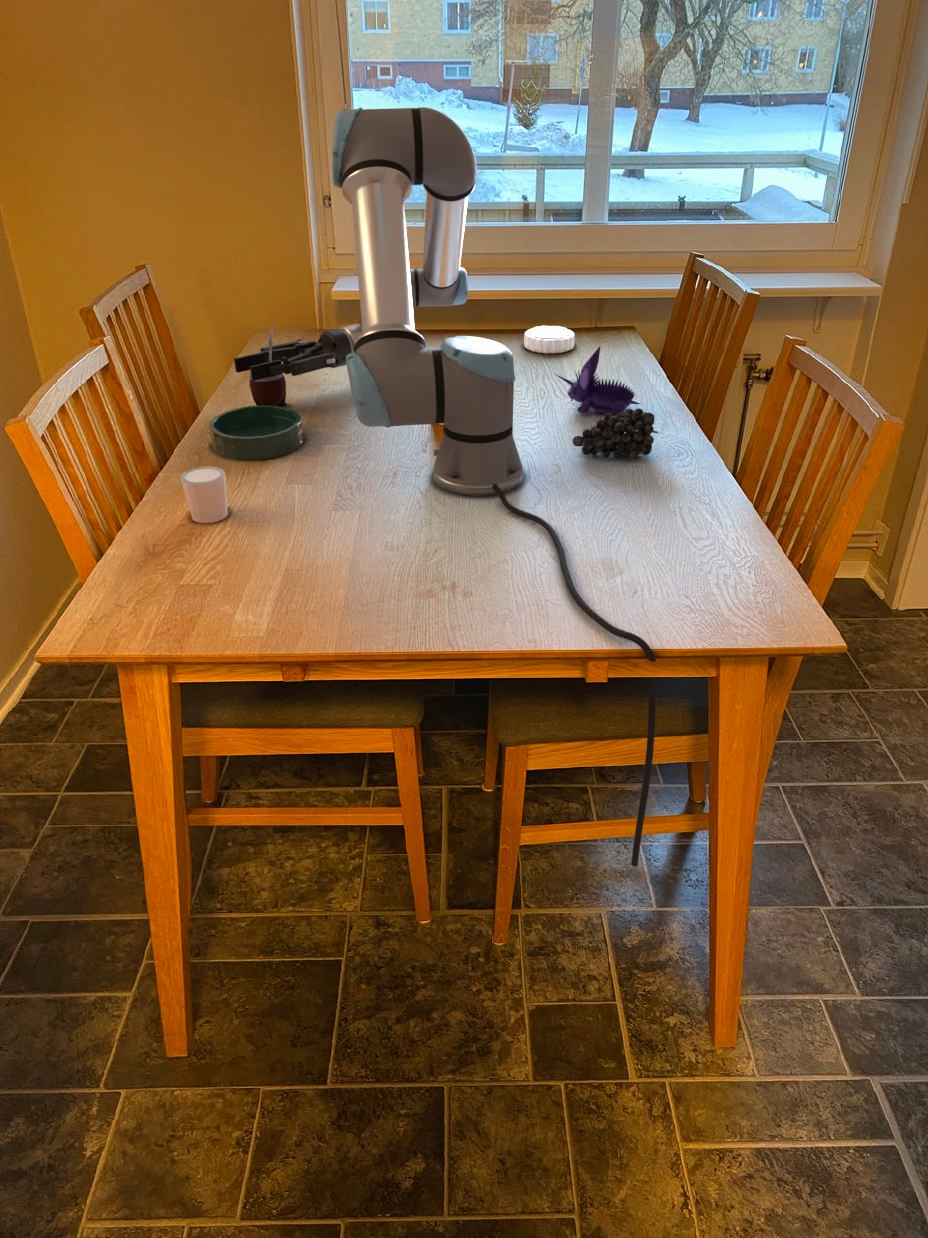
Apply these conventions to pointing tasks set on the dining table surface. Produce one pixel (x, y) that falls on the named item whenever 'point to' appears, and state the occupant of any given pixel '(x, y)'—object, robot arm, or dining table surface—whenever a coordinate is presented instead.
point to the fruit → (619, 435)
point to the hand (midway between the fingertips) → (243, 369)
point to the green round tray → (256, 432)
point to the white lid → (549, 339)
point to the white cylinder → (205, 493)
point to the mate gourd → (269, 386)
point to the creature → (598, 391)
